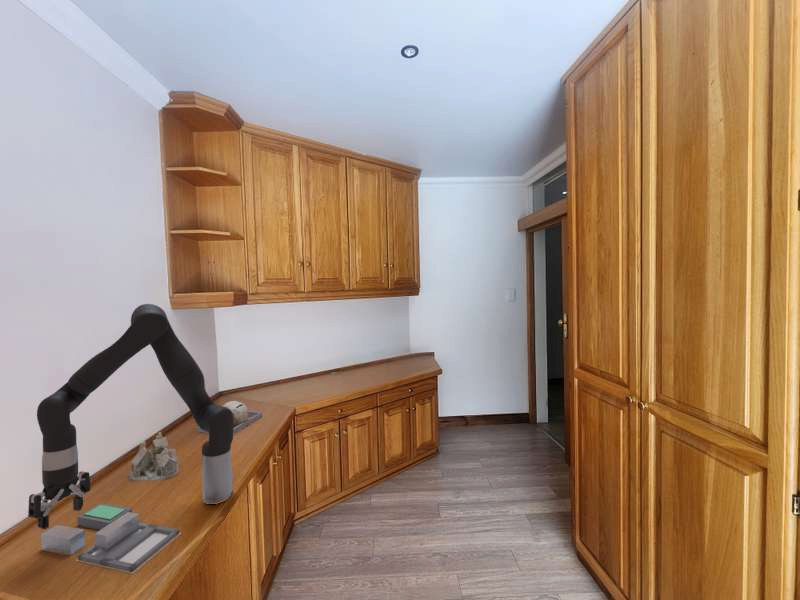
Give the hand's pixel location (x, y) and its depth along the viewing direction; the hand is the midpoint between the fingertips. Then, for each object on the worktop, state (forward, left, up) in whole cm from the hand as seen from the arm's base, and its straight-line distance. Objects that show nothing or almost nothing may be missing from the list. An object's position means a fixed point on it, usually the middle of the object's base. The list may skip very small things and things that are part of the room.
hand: (61, 518), depth 106 cm
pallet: (-5, +18, -10) cm, 21 cm away
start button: (-12, 0, -7) cm, 14 cm away
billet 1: (0, 0, -10) cm, 10 cm away
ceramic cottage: (-42, -12, -10) cm, 45 cm away
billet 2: (-5, +13, -9) cm, 17 cm away
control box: (-12, 0, -10) cm, 16 cm away
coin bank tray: (-93, -16, -10) cm, 95 cm away
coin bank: (-93, -16, -10) cm, 95 cm away
